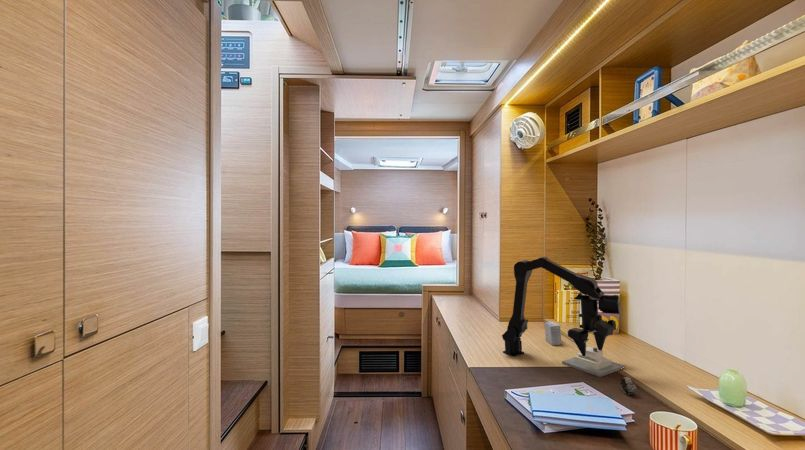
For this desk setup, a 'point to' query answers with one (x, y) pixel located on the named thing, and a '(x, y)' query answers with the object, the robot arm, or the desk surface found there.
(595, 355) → the servo block
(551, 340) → the medicine box
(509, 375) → the desk surface
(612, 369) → the plate
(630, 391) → the dark grey lumpy piece
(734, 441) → the desk surface
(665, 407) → the desk surface
